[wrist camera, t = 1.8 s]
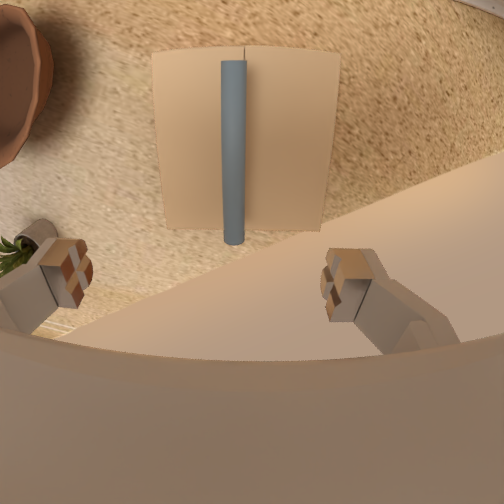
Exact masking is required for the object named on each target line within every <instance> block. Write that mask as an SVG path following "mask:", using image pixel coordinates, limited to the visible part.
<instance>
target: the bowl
mask: <svg viewBox="0 0 504 504" xmlns="http://www.w3.org/2000/svg"><path fill="white" fill-rule="evenodd" d="M53 69H54V62H53V58H52V53H51V48H50V45H49V43H48V42H47V41H46V39H45V38H44V36H43V35H42V34H41V32H40V31H39V30H38V29H37V28H36V27H35V25H34V24H33V22H32V20H31V19H30V17H29V16H28V14H27V12H26V11H25V9H24V8H21V7H17V6H12V5H8V4H3V5H1V6H0V169H1V168H2V167H4V166H5V165H7V164H9V163H10V162H12V161H13V160H14V159H15V157H16V156H17V154H18V152H19V151H20V149H21V148H22V146H23V145H24V143H25V141H26V140H27V138H28V137H29V135H30V131H31V127H32V124H33V123H34V121H35V120H36V119H37V117H38V116H39V114H40V113H41V112H42V110H43V109H44V107H45V104H46V101H47V99H48V96H49V93H50V90H51V88H52V80H53Z"/></svg>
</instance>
